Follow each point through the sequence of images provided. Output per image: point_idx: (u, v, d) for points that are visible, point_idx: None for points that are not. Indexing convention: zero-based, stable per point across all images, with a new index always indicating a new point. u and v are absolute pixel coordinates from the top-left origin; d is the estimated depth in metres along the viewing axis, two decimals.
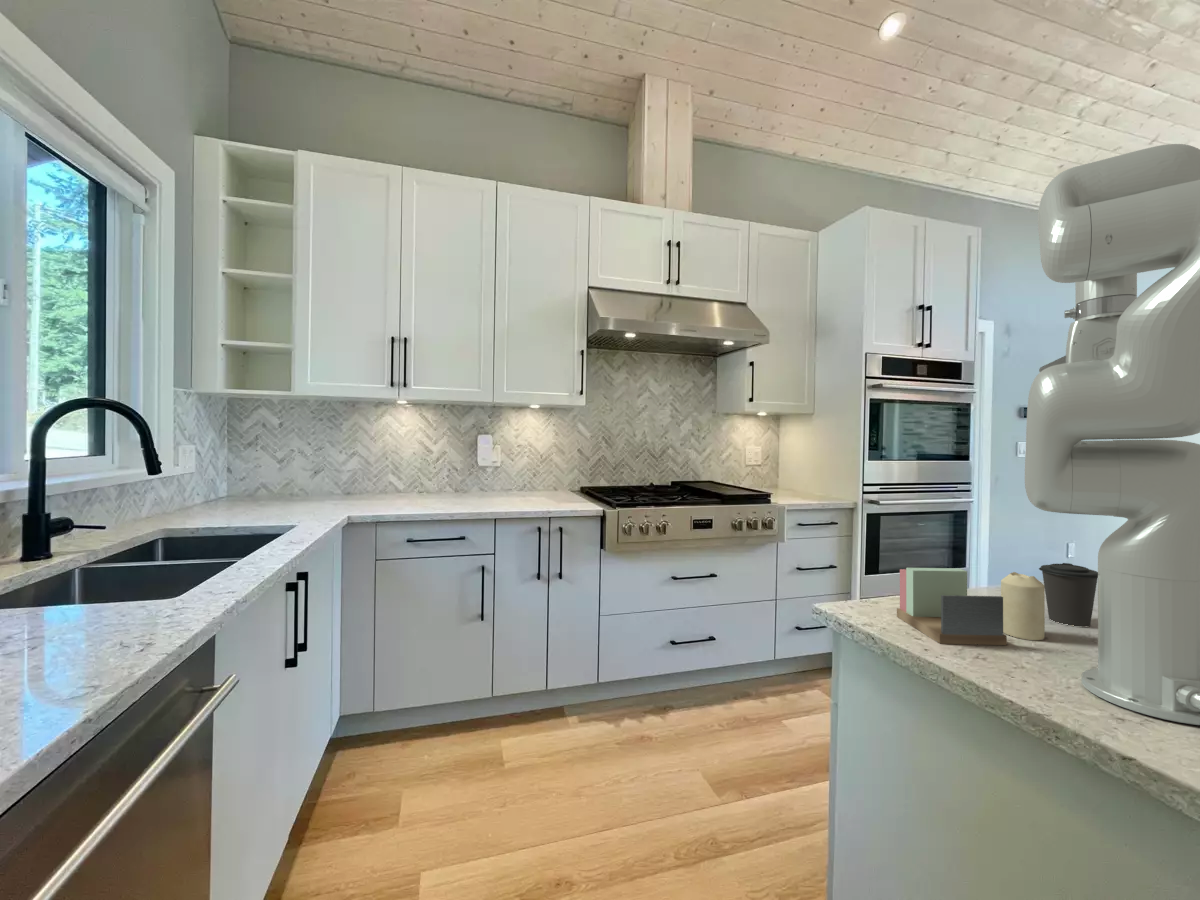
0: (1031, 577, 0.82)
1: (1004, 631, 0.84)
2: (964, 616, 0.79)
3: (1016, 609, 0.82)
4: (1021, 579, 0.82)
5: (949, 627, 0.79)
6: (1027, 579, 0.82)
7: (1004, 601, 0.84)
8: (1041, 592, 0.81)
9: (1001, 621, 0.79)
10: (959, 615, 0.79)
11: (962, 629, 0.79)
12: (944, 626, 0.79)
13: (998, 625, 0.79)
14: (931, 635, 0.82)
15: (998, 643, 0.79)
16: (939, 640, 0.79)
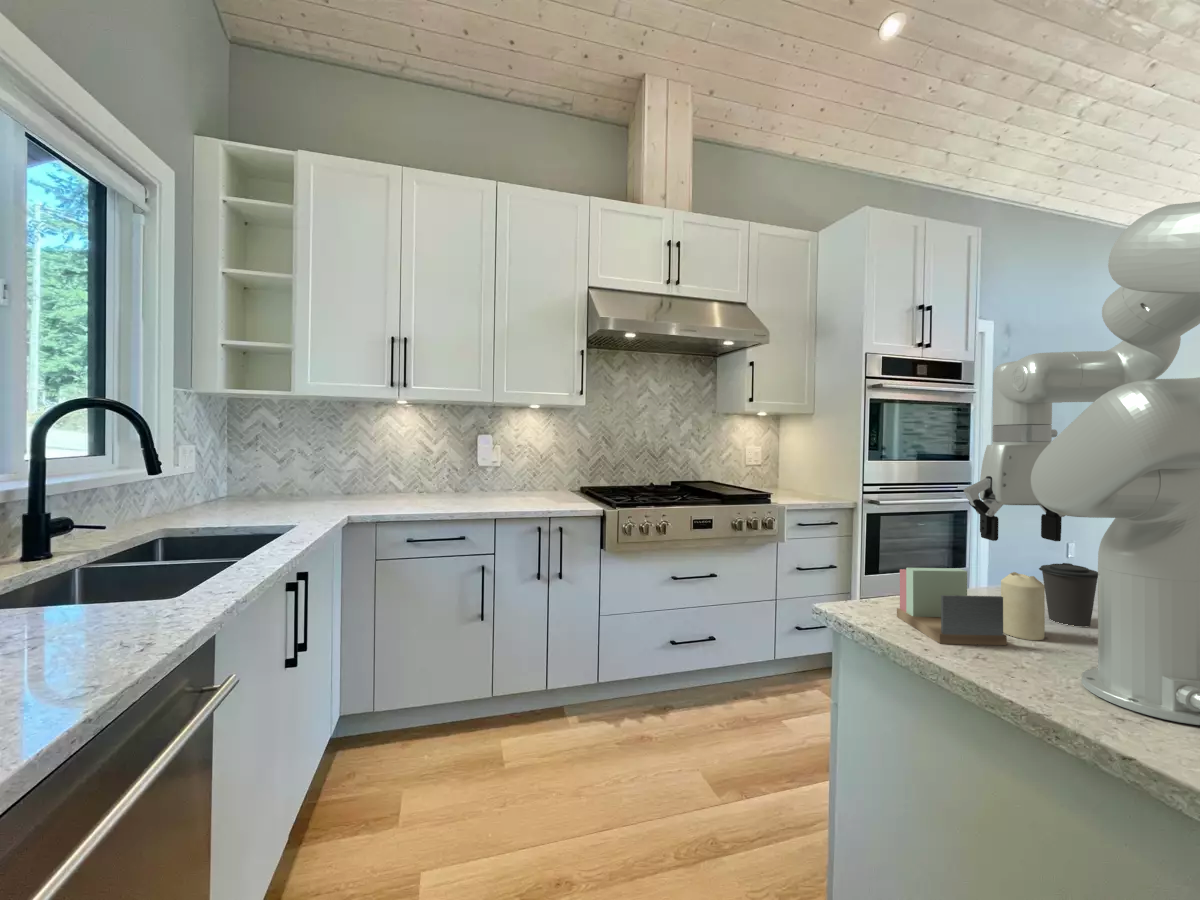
0: (1031, 577, 0.82)
1: (1004, 631, 0.84)
2: (964, 616, 0.79)
3: (1016, 609, 0.82)
4: (1021, 579, 0.82)
5: (949, 627, 0.79)
6: (1027, 579, 0.82)
7: (1004, 601, 0.84)
8: (1041, 592, 0.81)
9: (1001, 621, 0.79)
10: (959, 615, 0.79)
11: (962, 629, 0.79)
12: (944, 626, 0.79)
13: (998, 625, 0.79)
14: (931, 635, 0.82)
15: (998, 643, 0.79)
16: (939, 640, 0.79)
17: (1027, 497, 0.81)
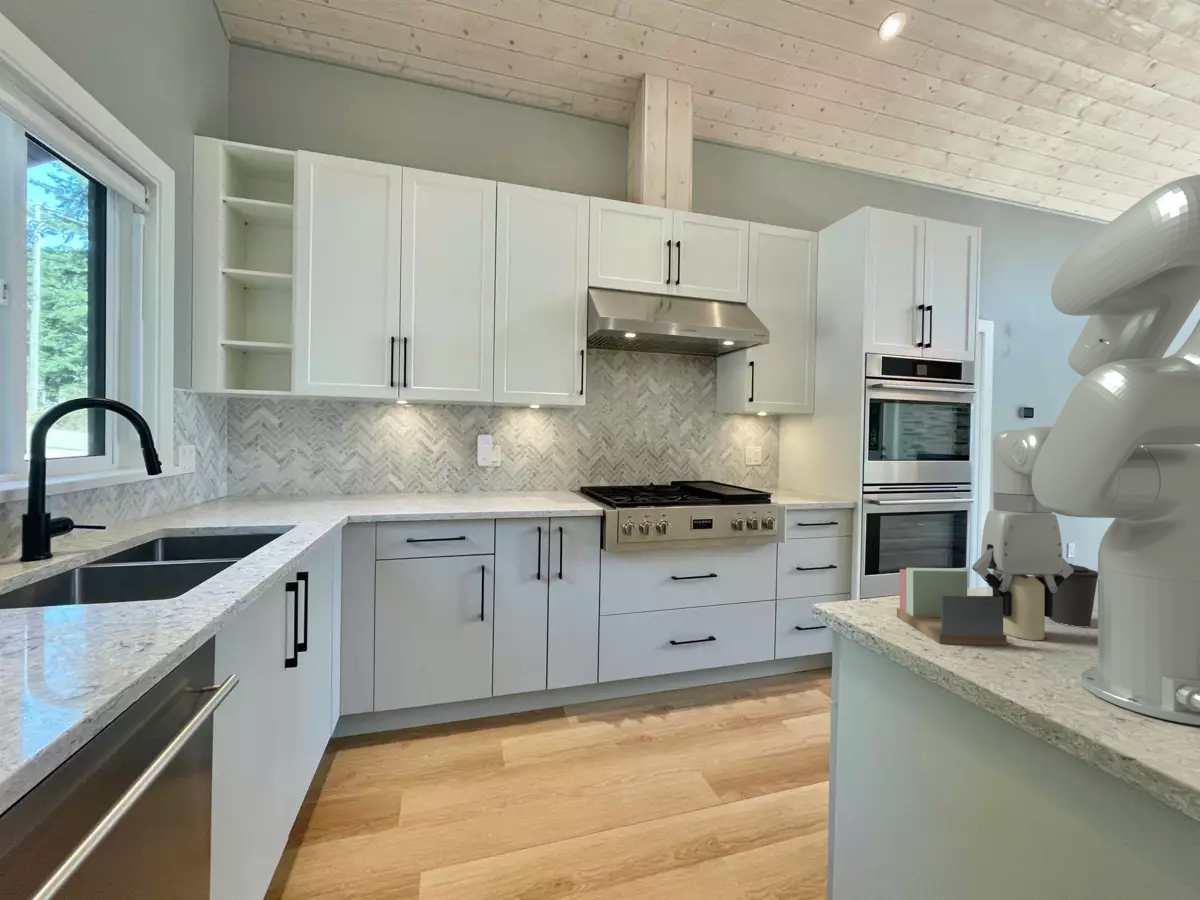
0: (1031, 577, 0.82)
1: (1004, 631, 0.84)
2: (964, 616, 0.79)
3: (1016, 608, 0.82)
4: (1021, 579, 0.82)
5: (949, 627, 0.79)
6: (1027, 579, 0.82)
7: None
8: (1041, 592, 0.81)
9: (1001, 621, 0.79)
10: (959, 615, 0.79)
11: (962, 629, 0.79)
12: (944, 626, 0.79)
13: (998, 625, 0.79)
14: (931, 635, 0.82)
15: (998, 643, 0.79)
16: (939, 640, 0.79)
17: (1029, 567, 0.81)
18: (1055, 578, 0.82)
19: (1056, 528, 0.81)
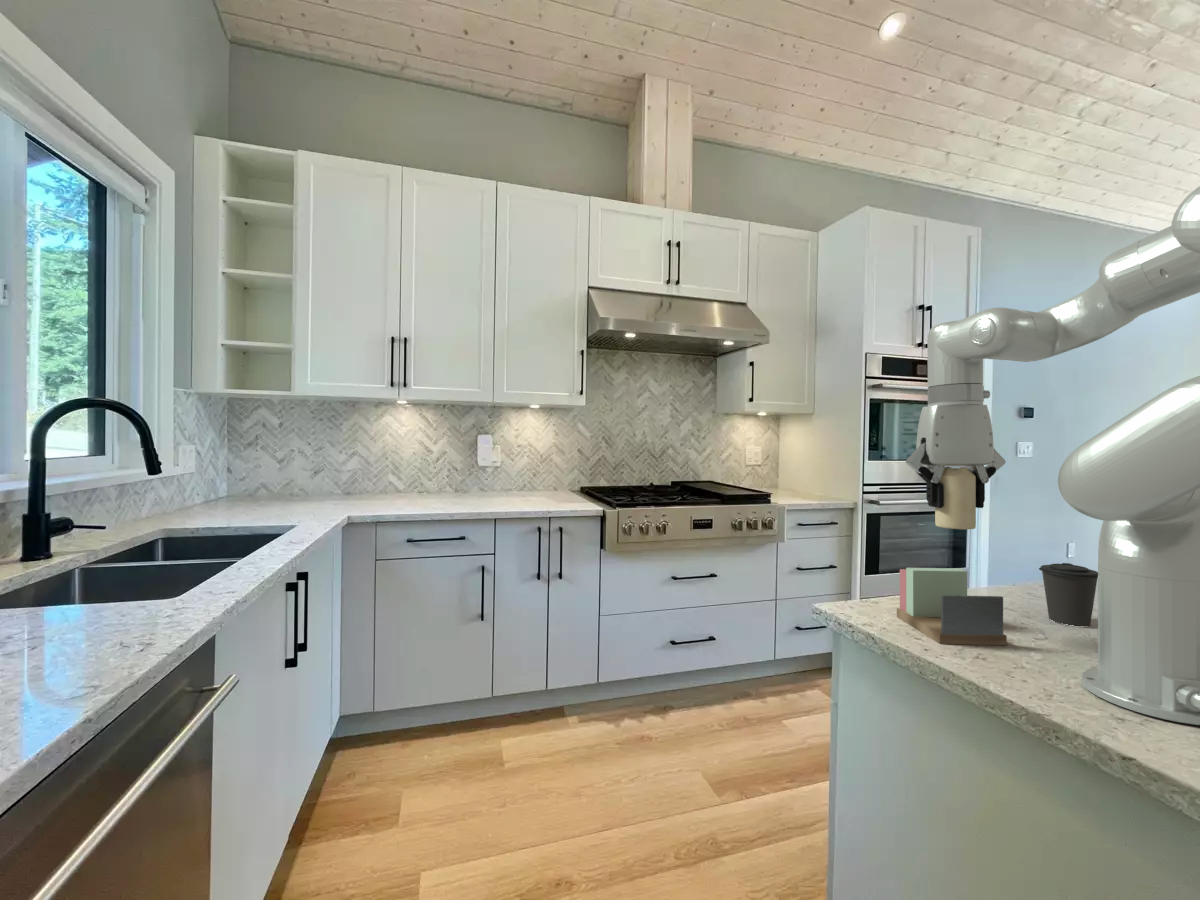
0: (962, 468, 0.82)
1: (937, 524, 0.84)
2: (964, 616, 0.79)
3: (947, 499, 0.82)
4: (952, 470, 0.82)
5: (949, 627, 0.79)
6: (958, 470, 0.82)
7: None
8: (971, 481, 0.81)
9: (1001, 621, 0.79)
10: (959, 615, 0.79)
11: (962, 629, 0.79)
12: (944, 626, 0.79)
13: (998, 625, 0.79)
14: (931, 635, 0.82)
15: (998, 643, 0.79)
16: (939, 640, 0.79)
17: (960, 457, 0.81)
18: (987, 469, 0.83)
19: (987, 418, 0.81)
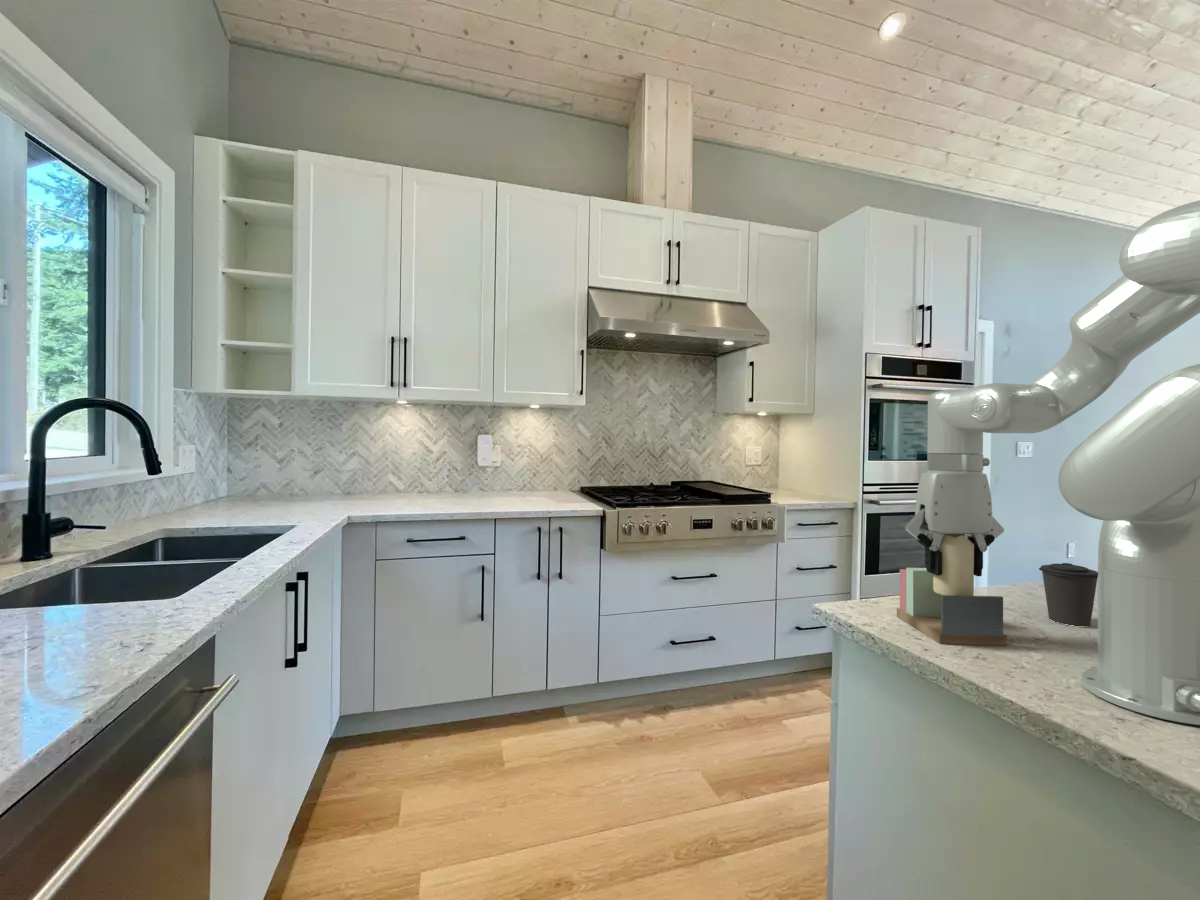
0: (961, 536, 0.82)
1: (935, 590, 0.84)
2: (964, 616, 0.79)
3: (945, 567, 0.82)
4: (951, 538, 0.82)
5: (949, 627, 0.79)
6: (957, 538, 0.82)
7: None
8: (970, 550, 0.81)
9: (1001, 621, 0.79)
10: (959, 615, 0.79)
11: (962, 629, 0.79)
12: (944, 626, 0.79)
13: (998, 625, 0.79)
14: (931, 635, 0.82)
15: (998, 643, 0.79)
16: (939, 640, 0.79)
17: (959, 526, 0.81)
18: (985, 537, 0.83)
19: (986, 487, 0.81)
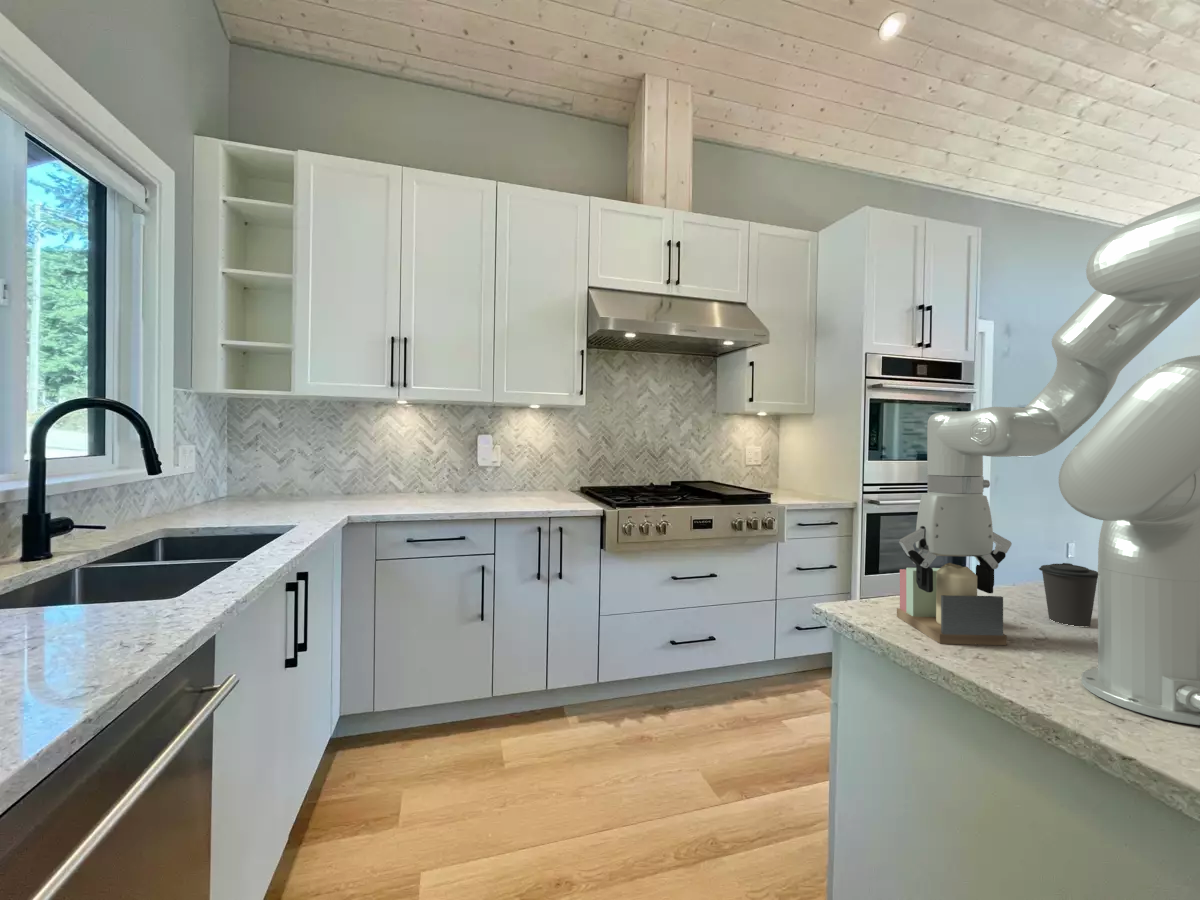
0: (964, 568, 0.82)
1: (938, 621, 0.84)
2: (964, 616, 0.79)
3: None
4: (954, 570, 0.82)
5: (949, 627, 0.79)
6: (960, 570, 0.82)
7: (938, 591, 0.84)
8: (973, 582, 0.81)
9: (1001, 621, 0.79)
10: (959, 615, 0.79)
11: (962, 629, 0.79)
12: (944, 626, 0.79)
13: (998, 625, 0.79)
14: (931, 635, 0.82)
15: (998, 643, 0.79)
16: (939, 640, 0.79)
17: (959, 548, 0.81)
18: (996, 554, 0.83)
19: (986, 509, 0.81)
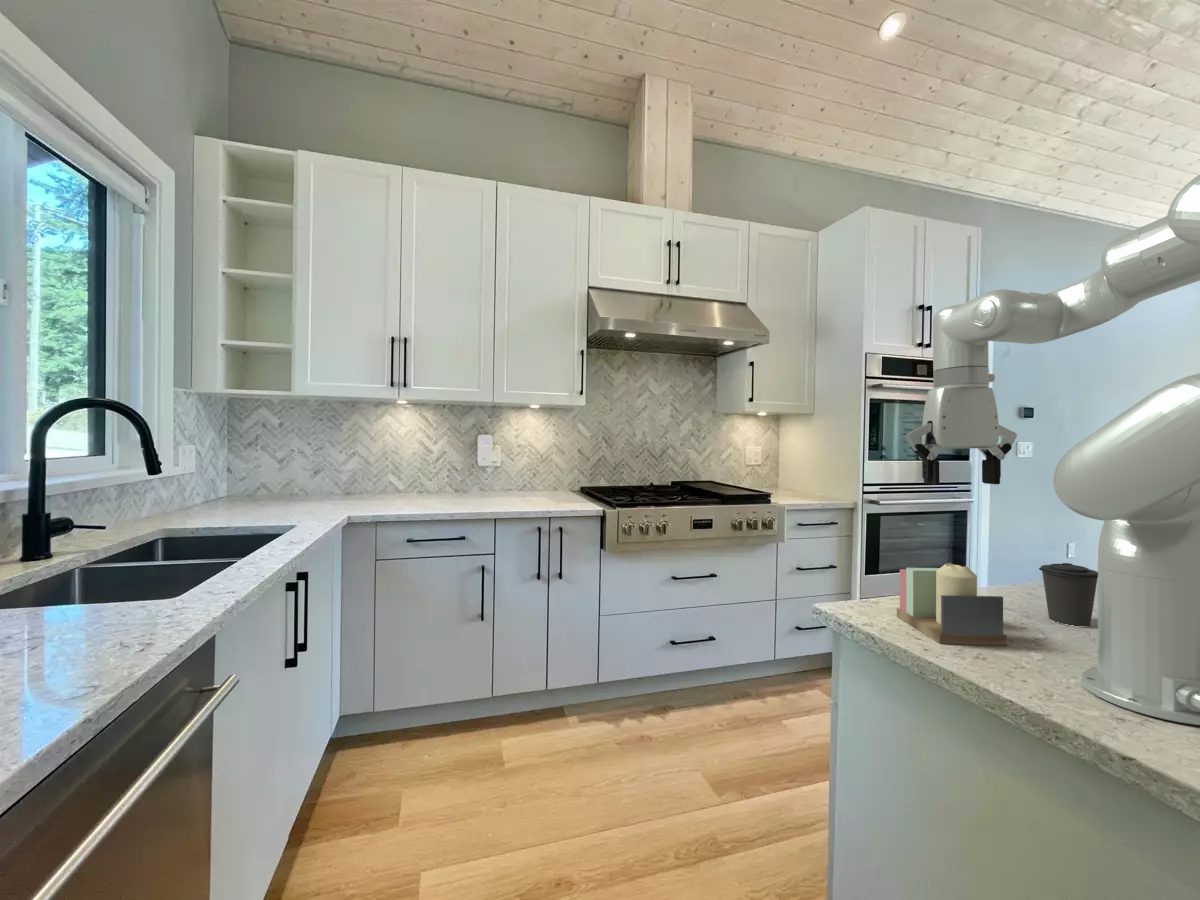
0: (964, 567, 0.82)
1: (938, 622, 0.84)
2: (964, 616, 0.79)
3: None
4: (954, 569, 0.82)
5: (949, 627, 0.79)
6: (960, 569, 0.82)
7: (938, 592, 0.84)
8: (973, 582, 0.81)
9: (1001, 621, 0.79)
10: (959, 615, 0.79)
11: (962, 629, 0.79)
12: (944, 626, 0.79)
13: (998, 625, 0.79)
14: (931, 635, 0.82)
15: (998, 643, 0.79)
16: (939, 640, 0.79)
17: (966, 440, 0.82)
18: (1003, 446, 0.83)
19: (992, 401, 0.82)
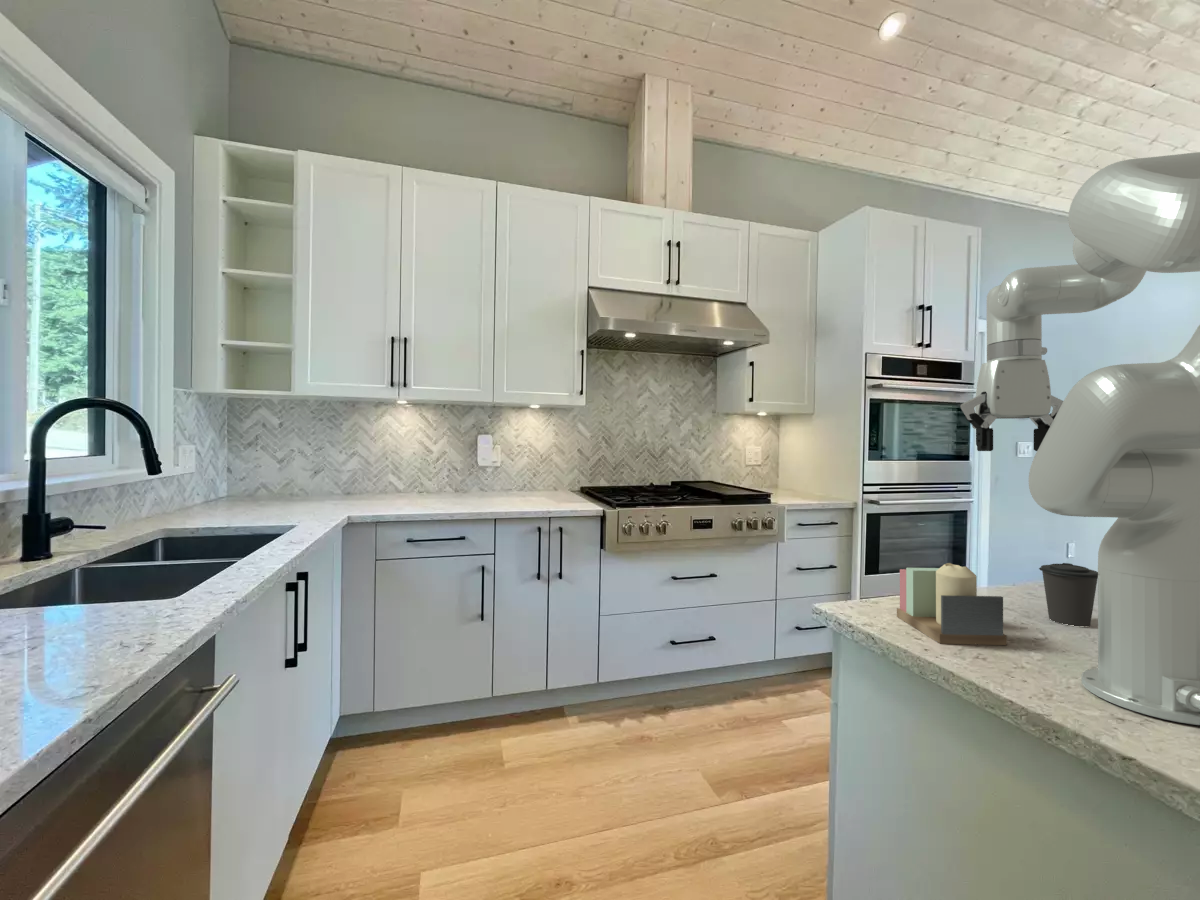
0: (963, 567, 0.82)
1: (938, 622, 0.84)
2: (964, 616, 0.79)
3: None
4: (954, 570, 0.82)
5: (949, 627, 0.79)
6: (959, 569, 0.82)
7: (938, 592, 0.84)
8: (973, 582, 0.81)
9: (1001, 621, 0.79)
10: (959, 615, 0.79)
11: (962, 629, 0.79)
12: (944, 626, 0.79)
13: (998, 625, 0.79)
14: (931, 635, 0.82)
15: (998, 643, 0.79)
16: (939, 640, 0.79)
17: (1020, 409, 0.87)
18: (1054, 415, 0.88)
19: (1045, 372, 0.87)
